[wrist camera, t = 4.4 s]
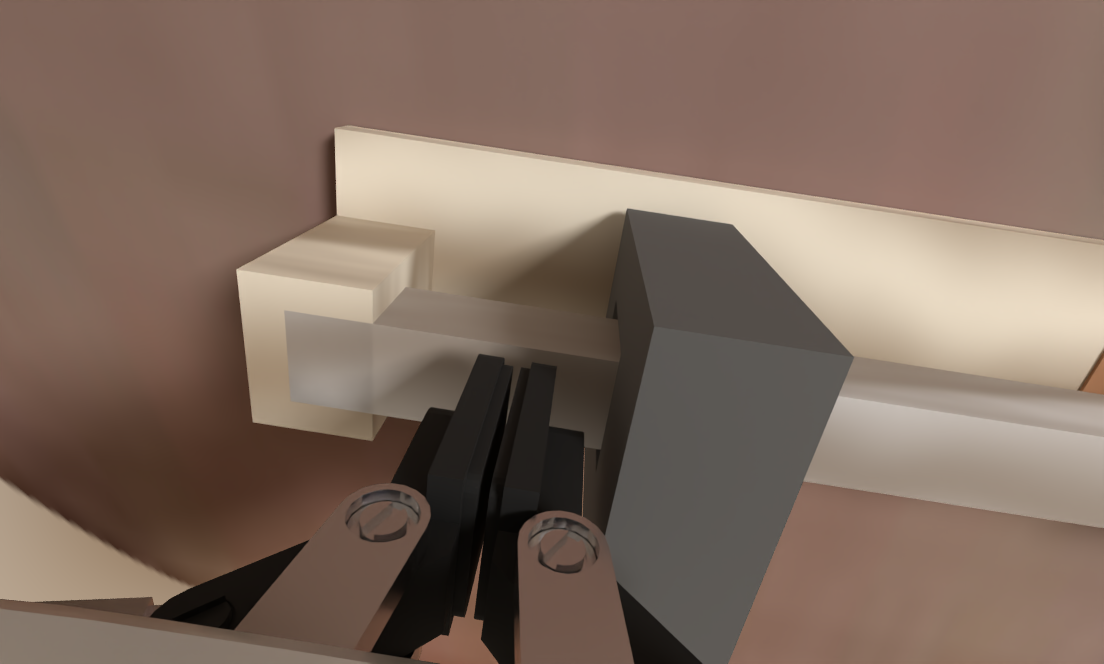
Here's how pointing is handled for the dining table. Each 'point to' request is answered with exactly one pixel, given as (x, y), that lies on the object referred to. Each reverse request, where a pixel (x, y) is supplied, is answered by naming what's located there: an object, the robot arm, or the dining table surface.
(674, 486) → the collar
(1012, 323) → the pipe rig
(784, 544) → the dining table surface
